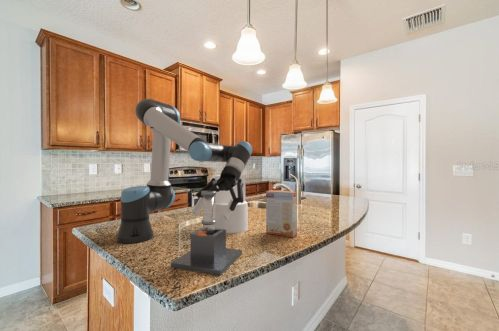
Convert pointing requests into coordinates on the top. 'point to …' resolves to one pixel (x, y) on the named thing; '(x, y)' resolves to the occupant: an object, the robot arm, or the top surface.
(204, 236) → the square socket stand
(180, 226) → the top surface
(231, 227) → the cylinder
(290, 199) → the cracker box
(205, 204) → the silver mushroom-headed rod
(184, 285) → the top surface
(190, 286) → the top surface
